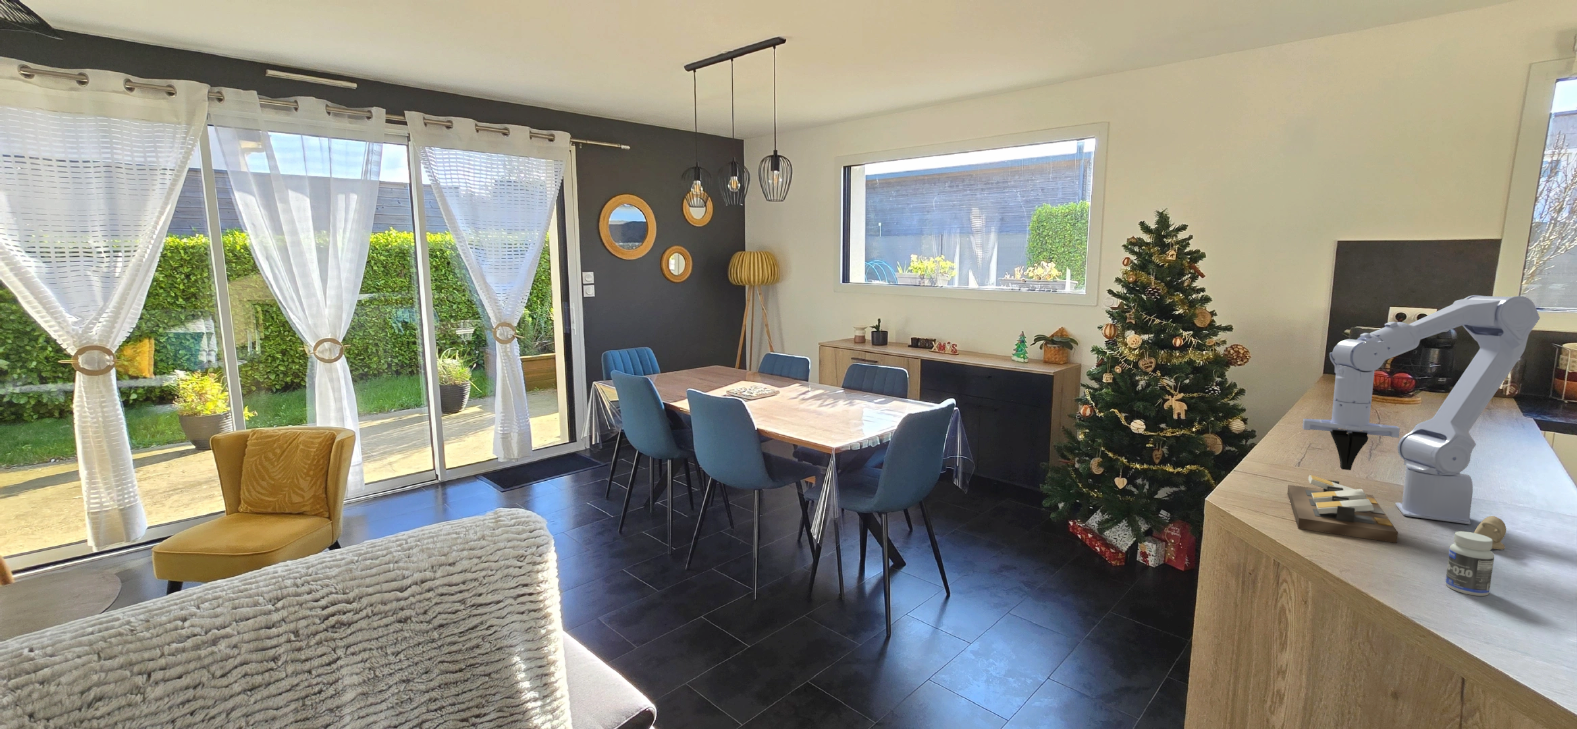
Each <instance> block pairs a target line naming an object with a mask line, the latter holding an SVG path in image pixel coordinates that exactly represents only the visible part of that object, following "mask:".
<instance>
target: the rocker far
mask: <svg viewBox="0 0 1577 729" xmlns="http://www.w3.org/2000/svg"><path fill="white" fill-rule="evenodd" d="M1328 480H1329V479H1326V478H1321V477H1319V476H1316V475H1313V474H1309V476H1308V482H1309V484H1310V485H1312V486H1316V487H1317V488H1320V489H1323V488H1324V489H1327V487H1328V486H1331V487H1340V488H1343V490H1355V489H1356V488H1352V487H1350V486H1345V485H1343V484H1340V483H1339V484H1337V483H1334V482H1331V481H1328Z"/></svg>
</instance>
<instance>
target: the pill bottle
mask: <svg viewBox="0 0 1577 729" xmlns="http://www.w3.org/2000/svg"><path fill="white" fill-rule="evenodd" d="M1453 537H1454V538H1453V542H1454V543H1452V544H1450V546H1449V549H1448V559H1447V566H1446V576H1445V585H1446V586H1447V587H1448V588H1449V589H1451V590H1454V591H1456V592H1458V593H1462V594H1465V595H1470V596H1479V597H1483V596H1488V595H1489V594H1490V593H1491V592H1490V591H1491V582H1492V576H1493V568H1494V560H1495V554H1494V552H1493V551H1491V550H1492V542H1493V540H1492V539H1491V538H1489V537H1487V536H1484V535H1480V534H1477V533H1474V532H1470V531H1463V530H1462V531H1461V530H1460V531H1455V533H1454V536H1453Z"/></svg>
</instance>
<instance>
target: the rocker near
mask: <svg viewBox="0 0 1577 729" xmlns="http://www.w3.org/2000/svg"><path fill="white" fill-rule="evenodd" d="M1338 506H1343V507H1351V508H1355V512H1356V511H1371V510H1374V509H1373V505H1372V504H1371V502H1370V500H1369V499H1360V500H1346V501H1332V502H1318V503H1316V507H1317V510H1318V512H1319V514H1325V513H1337V507H1338Z"/></svg>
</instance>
